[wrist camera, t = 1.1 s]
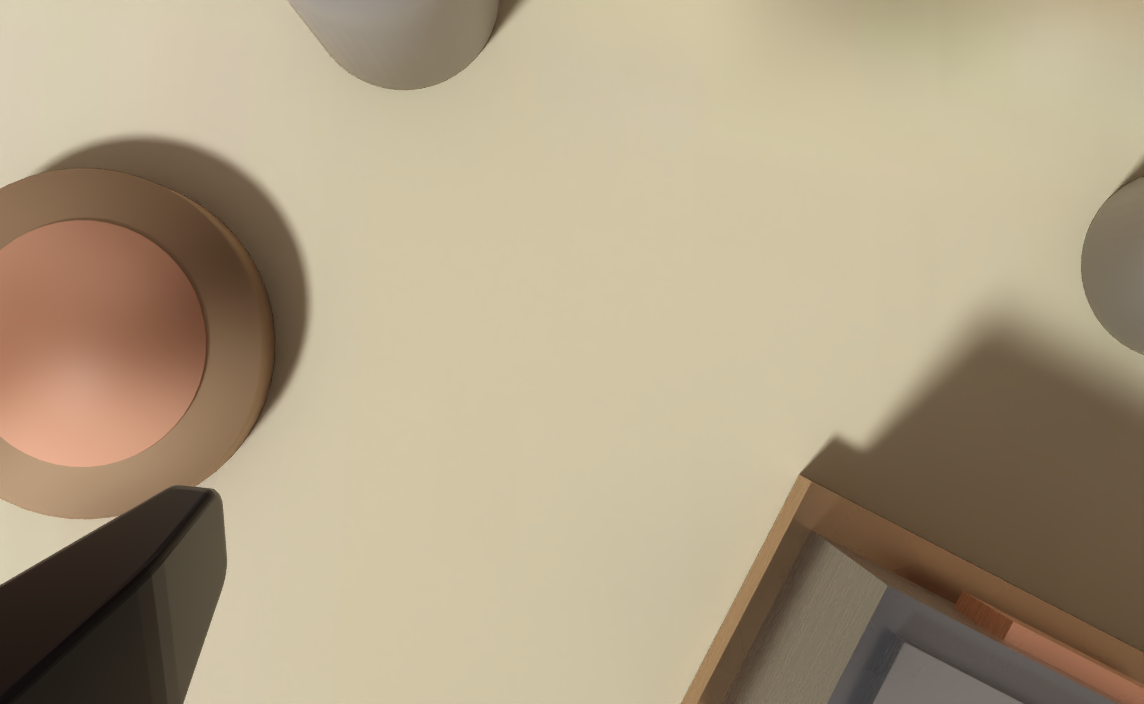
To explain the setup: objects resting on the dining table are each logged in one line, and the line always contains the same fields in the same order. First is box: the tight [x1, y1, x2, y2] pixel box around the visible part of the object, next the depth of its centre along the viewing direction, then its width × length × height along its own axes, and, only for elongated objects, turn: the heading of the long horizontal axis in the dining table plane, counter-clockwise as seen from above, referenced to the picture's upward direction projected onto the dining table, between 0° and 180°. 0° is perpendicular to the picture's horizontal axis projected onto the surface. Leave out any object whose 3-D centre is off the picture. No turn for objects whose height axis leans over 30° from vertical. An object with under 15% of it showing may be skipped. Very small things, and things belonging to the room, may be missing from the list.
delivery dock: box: [0, 168, 275, 519], centre depth 23 cm, size 8×8×1 cm
